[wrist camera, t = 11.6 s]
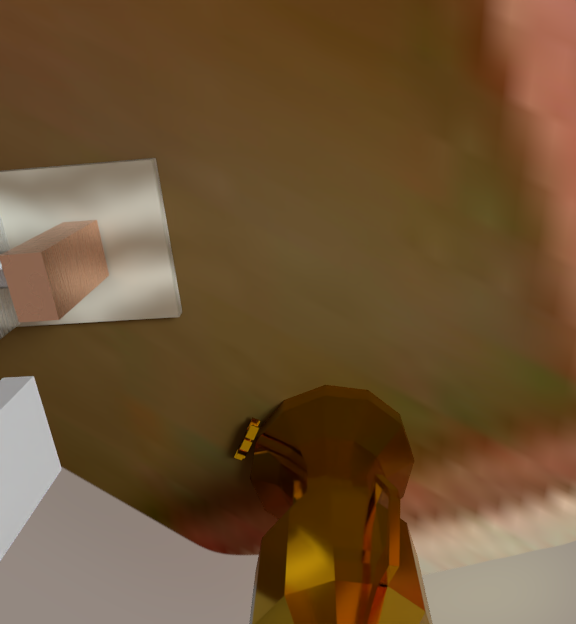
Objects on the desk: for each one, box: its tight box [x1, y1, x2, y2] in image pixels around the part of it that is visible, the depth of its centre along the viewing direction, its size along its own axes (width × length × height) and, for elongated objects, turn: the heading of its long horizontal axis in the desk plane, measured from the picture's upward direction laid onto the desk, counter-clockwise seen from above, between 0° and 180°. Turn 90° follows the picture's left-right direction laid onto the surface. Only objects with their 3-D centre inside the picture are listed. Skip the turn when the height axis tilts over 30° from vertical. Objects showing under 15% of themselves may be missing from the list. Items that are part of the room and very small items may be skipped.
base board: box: [0, 158, 182, 327], centre depth 47 cm, size 14×23×1 cm, turn 95°
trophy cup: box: [234, 385, 432, 624], centre depth 42 cm, size 18×24×28 cm
